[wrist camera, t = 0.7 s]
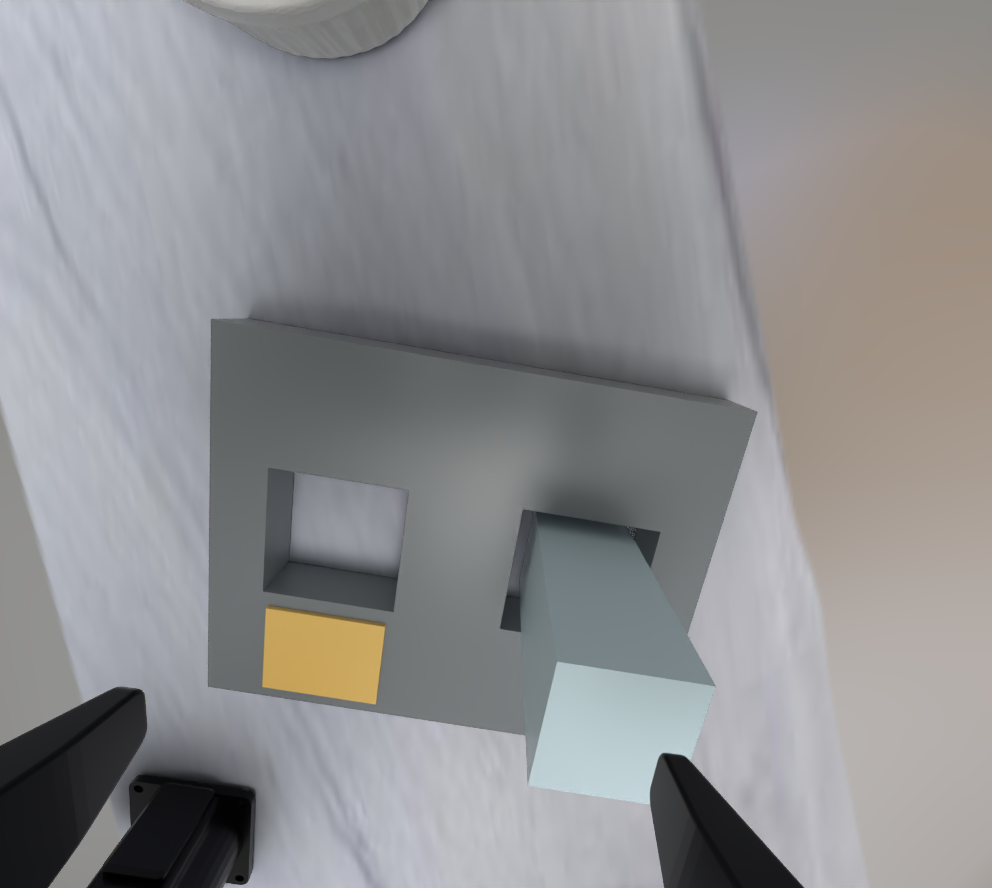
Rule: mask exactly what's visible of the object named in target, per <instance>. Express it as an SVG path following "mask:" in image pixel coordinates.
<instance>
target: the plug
mask: <svg viewBox="0 0 992 888" xmlns="http://www.w3.org/2000/svg"><path fill="white" fill-rule="evenodd" d="M519 594H520V618H521V641H522V664H523V687H524V710H525V733H526V756H527V779H528V786H532V787H538V788H545V789H552V790H558V791H565V792H571V793H578V794H585V795H591V796H598V797H605V798H611V799H618V800H625V801H631V802H638V803H644V804H650V787H651V783H652V779H653V776H654V772H655V768H656V765H657V761H658V758H659V756H660V755H661V754H662V753H672V754H680V755H684V756H685V757H687V758H688V759H689V760H691V757H692V754H693V751H694V748H695V745H696V743H697V740H698V737H699V734H700V731H701V728H702V725H703V722H704V719H705V717H706V714H707V711H708V708H709V705H710V702H711V699H712V696H713V693H714V691H715V688H716V686H715V684H714V682H713V680H712V679H711V677H710V675H709V673H708V671H707V670H706V668H705V666H704V664H703V662H702V661H701V659H700V657H699V655H698V653H697V652H696V650H695V648H694V646H693V644H692V643H691V641H690V639H689V637H688V635H687V634H686V632H685V630H684V628H683V626H682V625H681V623H680V621H679V619H678V618H677V616H676V614H675V612H674V610H673V609H672V607H671V605H670V603H669V601H668V600H667V598H666V596H665V594H664V592H663V591H662V589H661V587H660V585H659V583H658V582H657V580H656V578H655V576H654V574H653V573H652V571H651V569H650V567H649V565H648V564H647V562H646V560H645V558H644V557H643V555H642V553H641V551H640V549H639V548H638V546H637V544H636V542H635V540H634V539H633V537H632V535H631V533H630V531H629V530H628V528H627V526H622V525H616V524H610V523H604V522H598V521H592V520H586V519H579V518H573V517H567V516H561V515H555V514H549V513H543V512H537V511H534V512H533V517H532V522H531V527H530V532H529V537H528V542H527V547H526V552H525V557H524V561H523V566H522V571H521V576H520V581H519Z"/></svg>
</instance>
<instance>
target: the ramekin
mask: <svg viewBox="0 0 992 888" xmlns="http://www.w3.org/2000/svg"><path fill="white" fill-rule="evenodd" d="M184 1H186V2H188V3H189V4H191V5H193V6H195V7H197V8H199V9H201V10H203V11H205V12H207V13H209V14H211V15H214V16H216V17H219V18H222V19H224V20H227V21H229V22H230V23H232V24H234V25H235V26H237V27H239V28H240V29H242V30H243V31H245V32H247V33H248V34H250V35H252V36H253V37H255V38H257V39H259V40H261V41H264V42H265V43H267V44H268V45H270V46H272V47H274V48H276V49H279V50H283V51H286V52H288V53H291V54H293V55H296V56H307V57H310V58H314V59H317V58H328V59H334V58H338V57H341V56H352V55H354V54H357V53H361V52H366V51H369V50H371V49H372V48H374V47H377V46H381V45H383V44H384V43H386V42H387V41H388V40H389V39H390V38H392V37H395V36H397V35H398V34H400V33H401V31H402V30H403V29H404V28H405V27H406V26H407V25H409V24H410V23H411V22H413V20H414V19H415V17H416V16H417V15H418V13H419V12H420V11H421V10H422V9H423V7H424V6H425V5H426V3H427V2H428V0H184Z"/></svg>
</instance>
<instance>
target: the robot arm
mask: <svg viewBox="0 0 992 888" xmlns="http://www.w3.org/2000/svg"><path fill="white" fill-rule="evenodd" d="M146 731H147V717H146V703H145V694H144V692H143V691H142V690H140V689H136V688H128V687H116V688H113V689H111V690H109V691H107V692H105V693H103V694H101V695H99V696H97V697H95V698H93V699H91V700H89V701H87V702H85V703H83V704H81V705H79V706H78V707H76V708H74V709H72V710H70V711H68V712H66V713H64V714H62V715H60V716H58V717H56V718H54V719H52V720H50V721H48V722H46V723H44V724H42V725H40V726H38V727H36V728H34V729H33V730H30V731H28V732H26V733H24V734H22V735H20V736H18V737H17V738H15V739H13V740H11V741H9V742H7V743H5V744H3V745H1V746H0V888H48V887H49V886H50V884H51V883H52V882H53V880H54V879H55V877H56V876H57V875H58V873H59V872H60V871H61V869H62V868H63V866H64V865H65V864H66V862H67V861H68V860H69V858H70V857H71V855H72V854H73V852H74V851H75V850H76V848H77V847H78V845H79V844H80V842H81V841H82V839H83V838H84V836H85V835H86V833H87V831H88V830H89V828H90V827H91V825H92V824H93V822H94V820H95V819H96V817H97V815H98V814H99V812H100V811H101V809H102V807H103V806H104V804H105V803H106V801H107V799H108V798H109V796H110V794H111V793H112V791H113V790H114V788H115V786H116V785H117V783H118V781H119V780H120V778H121V777H122V775H123V773H124V772H125V770H126V768H127V767H128V765H129V763H130V762H131V760H132V759H133V757H134V755H135V754H136V752H137V750H138V749H139V747H140V746H141V744H142V742H143V740H144V738H145V735H146ZM129 795H130V817H131V827H130V828H129V830H128V831H127V833H126V834H125V835H124V837H123V838H122V839H121V841H120V842H119V844H118V845H117V846H116V848H115V849H114V850H113V852H112V853H111V855H110V856H109V857H108V858H107V860H106V861H105V863H104V864H103V866H102V868H101V869H100V870H99V872H98V873H97V874H96V876H95V877H94V878H93V880H92V881H91V883H90V884H89V885H88V887H87V888H223V887H224V885H225V883H231V884H238V885H243V884H246V883H247V882H248V880H249V878H250V876H251V873H252V861H253V838H254V815H255V796H254V794H253V793H252V792H250V791H248V790H242V789H235V788H229V787H222V786H215V785H209V784H202V783H195V782H189V781H182V780H175V779H169V778H162V777H155V776H149V775H138V776H137V777H136V778H135V779H134V780H133V781H132V783H131V784H130V786H129ZM650 806H651V812H652V818H653V824H654V830H655V836H656V841H657V847H658V853H659V859H660V865H661V871H662V877H663V883H664V888H804V887H803V886H802V885H801V884H800V883H799V882H798V880H797V879H796V878H795V877H794V876H793V875H792V874H791V873H790V872H789V870H788V869H787V868H786V867H785V866H784V865H783V864H782V863H781V861H780V860H779V859H778V858H777V857H776V856H775V855H774V854H773V853H772V851H771V850H770V849H769V848H768V847H767V846H766V845H765V844H764V843H763V841H762V840H761V839H760V838H759V837H758V836H757V835H756V834H755V833H754V831H753V830H752V829H751V828H750V827H749V826H748V825H747V824H746V822H745V821H744V820H743V819H742V818H741V817H740V816H739V815H738V814H737V812H736V811H735V810H734V809H733V808H732V807H731V806H730V805H729V804H728V802H727V801H726V800H725V799H724V798H723V797H722V796H721V795H720V794H719V792H718V791H717V790H716V789H715V788H714V787H713V786H712V785H711V783H710V782H709V781H708V780H707V779H706V778H705V777H704V776H703V775H702V773H701V772H700V771H699V770H698V769H697V768H696V767H695V766H694V765H693V763H692V762H691V761H690V760H689V759H688V758H687V757H685V756H684V755H680V754H672V753H662V754H661V755H660V756H659V758H658V761H657V765H656V768H655V772H654V776H653V779H652V783H651V787H650Z"/></svg>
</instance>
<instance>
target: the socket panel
mask: <svg viewBox="0 0 992 888" xmlns="http://www.w3.org/2000/svg"><path fill="white" fill-rule="evenodd" d="M756 415H757V412H756V411H754V410H751V409H749V408H746V407H744V406H741V405H739V404H736V403H734V402H731V401H729V400H724V399H718V398H713V397H707V396H701V395H695V394H689V393H683V392H677V391H671V390H666V389H660V388H654V387H648V386H642V385H636V384H630V383H624V382H618V381H613V380H607V379H601V378H595V377H589V376H583V375H577V374H571V373H565V372H560V371H554V370H548V369H542V368H536V367H530V366H524V365H518V364H513V363H507V362H501V361H495V360H489V359H483V358H477V357H471V356H465V355H460V354H454V353H448V352H442V351H436V350H430V349H424V348H418V347H412V346H407V345H401V344H395V343H389V342H383V341H377V340H371V339H365V338H359V337H354V336H348V335H342V334H336V333H330V332H324V331H318V330H312V329H307V328H301V327H295V326H289V325H283V324H277V323H271V322H265V321H259V320H254V319H248V318H247V319H211V400H210V511H209V623H208V687H214V688H221V689H227V690H234V691H240V692H247V693H253V694H260V695H266V696H273V697H279V698H286V699H292V700H299V701H305V702H312V703H318V704H325V705H331V706H338V707H344V708H351V709H357V710H364V711H370V712H377V713H383V714H390V715H396V716H403V717H409V718H416V719H422V720H429V721H435V722H442V723H448V724H455V725H461V726H468V727H474V728H481V729H487V730H494V731H500V732H507V733H513V734H520V735H526V733H525V710H524V687H523V664H522V641H521V618H520V598H513V597H507V596H506V594H507V589H508V584H509V579H510V573H511V568H512V563H513V558H514V553H515V548H516V543H517V537H518V532H519V527H520V522H521V517H522V512H523V509H524V510H531V511H537V512H543V513H549V514H555V515H561V516H567V517H573V518H579V519H586V520H592V521H598V522H604V523H610V524H616V525H622V526H628V527H634V528H638V530H637V534H636V538H635V542H636V544H637V546H638V548H639V549H640V551H641V553H642V555H643V557H644V558H645V560H646V562H647V564H648V565H649V567H650V569H651V571H652V573H653V574H654V576H655V578H656V580H657V582H658V583H659V585H660V587H661V589H662V591H663V592H664V594H665V596H666V598H667V600H668V601H669V603H670V605H671V607H672V609H673V610H674V612H675V614H676V616H677V618H678V619H679V621H680V623H681V625H682V626H683V628H684V630H685V632H686V634H688V631H689V627H690V624H691V621H692V618H693V615H694V612H695V608H696V605H697V602H698V599H699V596H700V592H701V589H702V586H703V583H704V580H705V577H706V573H707V570H708V567H709V564H710V561H711V558H712V554H713V551H714V548H715V545H716V542H717V539H718V535H719V532H720V529H721V526H722V523H723V520H724V516H725V513H726V510H727V507H728V504H729V501H730V497H731V494H732V491H733V488H734V485H735V482H736V478H737V475H738V472H739V469H740V466H741V463H742V459H743V456H744V453H745V450H746V447H747V444H748V440H749V437H750V434H751V431H752V428H753V424H754V421H755V418H756ZM294 472H298V473H305V474H311V475H317V476H323V477H329V478H335V479H341V480H347V481H353V482H360V483H366V484H372V485H378V486H384V487H390V488H396V489H402V490H408V491H409V494H408V502H407V510H406V518H405V526H404V534H403V542H402V550H401V558H400V566H399V574H398V579H394V578H388V577H382V576H376V575H369V574H363V573H357V572H351V571H344V570H338V569H332V568H326V567H319V566H313V565H307V564H301V563H294V562H289V553H290V536H291V519H292V502H293V484H294Z"/></svg>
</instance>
